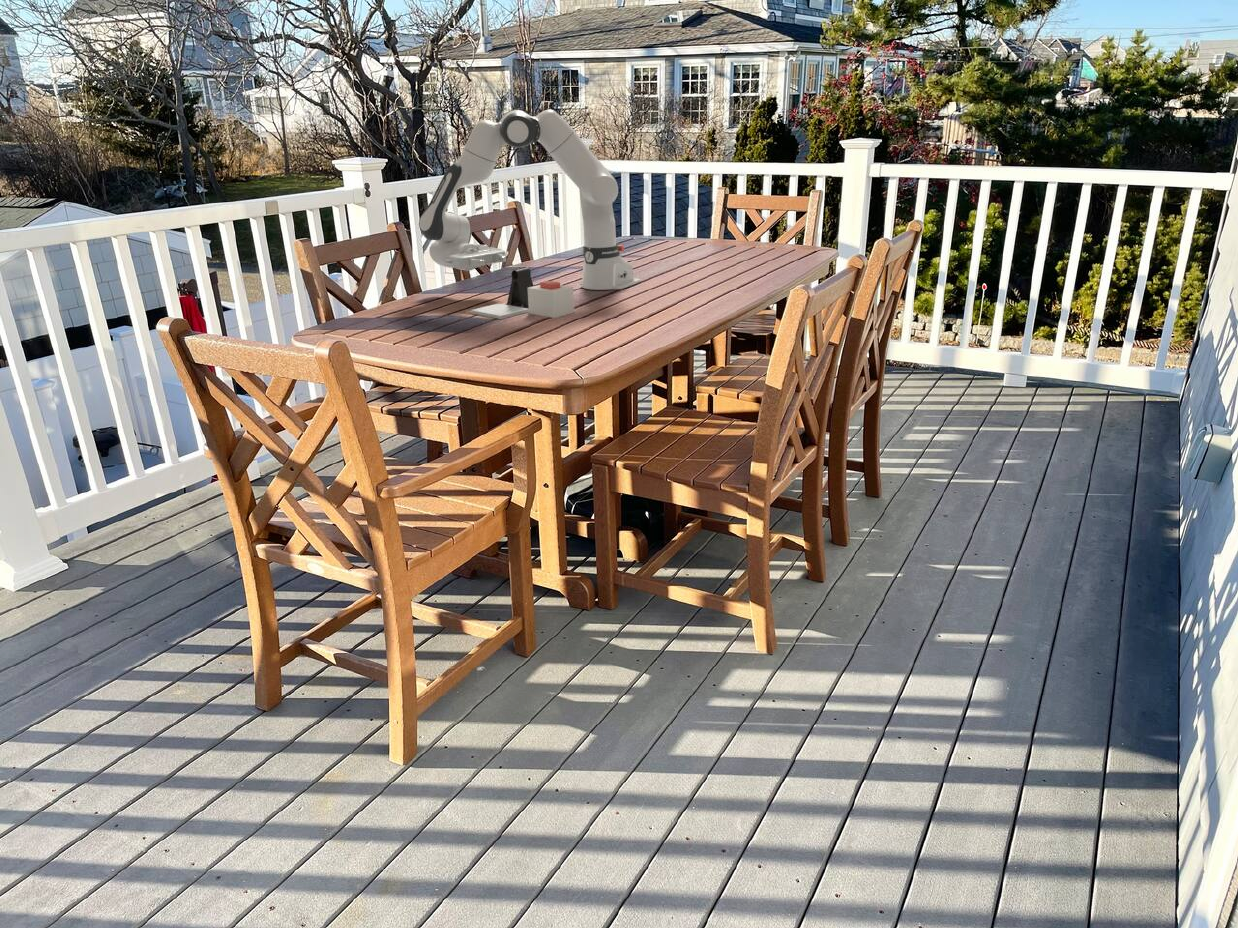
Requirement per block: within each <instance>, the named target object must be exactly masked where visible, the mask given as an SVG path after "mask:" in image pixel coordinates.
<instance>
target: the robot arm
mask: <svg viewBox="0 0 1238 928" xmlns="http://www.w3.org/2000/svg"><path fill="white" fill-rule="evenodd" d="M536 142H538V143H539V144H540V145H542V147H543V148H544V149H545V151H546V152H547V153H548V154H549V155H550V156H551V158H552V159H553V161H554V162H555V163H556V164H557V165H558V166H559V167H560V169H561V170H562V171H563V173H564V174H566V175H567V177H568V178H569V179H570V180H571V182H573V183H574V185H575V186H576V187H577V188H578V189H579V199H580V200H579V201H580V207H581V209H580V210H581V215H582V223H583V242H584V243H583V247H582V248H583V249H582V254H583V258H584V261H583V266H582V279H581V281H580V284H581V288H583V289H587V290H595V291H597V290H598V291H599V290H600V291H601V290H603V291H604V290H623V289H625V288H628V287H632V286H633V285H636V284H639V283H640V282H641V279H640V278H637V277H635V276H634V275H635V274H634V269H633V266H632V264H631V263H629V262H628V261H627V260H626V259H625V258H623V257H622V256H621V253H620V252H624V251H625V247H624V245H622V244H621V245H620V244H618V245H617V237H616V236H617V234H616V233H617V231H616V219H615V214H614V213H615V212H614V209H613V207H614V206H613V203H614V202H615V201H616V199H617V198H618V195H619V186H618V181H617V180H616V178H615V177H614V176H613V175H612V174H611V172H609V171H608V169H607V168H606V167H605V166H604V164H603V163H602V162H601V161H600V160H599V159H598V158H597V156H596V155H594V153H593V152H592V151H591V150H590V149H589V148H588V146H587V145H586V144H585V142H584V141H583V140H582V139H581V138H580V136H579V135H578V134H577V133H576V131H575V130H574V129H573V128H572V126H571V125H570V124H569V123H568V122H567V121H566V120H565V119H564V118H563V117H562V116H561V115H560V114H559V113H557V111H555V110H553V109H551V108H550V109H549V108H548V109H546V110H542V111H541V112H540V113H538V114H537V115H535V116H532V115H530V114H529V113H528V112H527V111H525V110H522V109H519V108H513V109H511V110H508V111H507V112H506V113H504V115H502V116H501V117H500V118H498V120H496V122H494V121H492V120H489V119H482V120H479V121H477V123H476V124H475V125H474V127H473V129H472V131H471V133H470V135H469V136H468V139H467V141H466V143H465V147H464V148H463V151H462V153H461V155H460V157H459V158H458V159H457V160H456V162H455V163H453V164H451V165H450V166H448V168H447V170H445V171H446V172H445V173H444V175H443V176H442V179H441V180H440V183H439V184H438V186H437V188H436V190H435V192H434V194H433V196H432V198H431V200H430V201H429V203H428V205H427V207H426V208H425V209H424V211H423V212H422V213H421V215H420V217H419V221H418V227H419V230H420V232H421V234H422V235H423V237H424V238H425V239H427V240H429V241H434V242H432V244H430V247H429V250H428V251H429V256H430V258H431V260H432V261H433V262H434V263H435V264H437V265H439V266H442V267H445V268H451V269H453V268H455V269H457V270H462V271H468V272H470V271H473V270H475V269H476V268H479V267H482V266H485V265H492V264H497V263H506V262H507V257H506V251H505V250H504V249H501V248H497V247H493V246H488V244H475V243H470V242H471V239H472V232H473V231H472V224H471V222H470V220H469V218H468V217H467V216H465V215H462V214H458V213H454V212H453V213H452V212H449V211H447V209H448V207H449V205H450V203H451V201H452V200H453V198H454V195H455V194H456V193H457V192H458V190H460V188H463V187H464V186H468V185H472V184H473V185H474V184H479V183H483V182H485V180H487V179H489V178H490V176H491V175H492V174H493V171H494V170H495V167H496V165H497V161H498V158H499V155H500V153H501V151H502V149H503V148H504V147H505V146H506V145H508V146H510V147H512V148H516V149H518V148H519V149H520V148H524V147H527V146H529V145H531V144H534V143H536Z"/></svg>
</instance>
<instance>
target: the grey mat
mask: <svg viewBox="0 0 1238 928" xmlns="http://www.w3.org/2000/svg"><path fill="white" fill-rule="evenodd" d="M525 313H526V314H527V313H529V309H528V308H522V307H517V306H511V305H507V303H506V304H504V303H500V302H498V303H494V304H491V305H486V306H481V307H478V308H474V309H473V308H472V309H470V314H473V315H478V316H482V317H487V318H494V319H498V320H503V319H507V318H511V317H514V316H518V315H522V314H523V315H524V314H525Z"/></svg>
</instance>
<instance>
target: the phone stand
mask: <svg viewBox="0 0 1238 928" xmlns="http://www.w3.org/2000/svg"><path fill="white" fill-rule="evenodd" d="M531 272H532V271H531V270H530V267H522V268H518V269H513V270H512V271H511V282H510V287H509V293H508V297H507V302H506V305H511V306H517V307H522V308H528V309H529V305H528V289H527V288H529V287H533V286H535V285H534V283H533V280H532V277H531Z"/></svg>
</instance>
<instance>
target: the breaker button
mask: <svg viewBox="0 0 1238 928" xmlns="http://www.w3.org/2000/svg"><path fill="white" fill-rule="evenodd" d="M539 285H540V288H545V289H551V290H553V289H557V288H560V285H561V282H560V281H559V282H558V281H552V280H546V281H541V282H540V284H539Z"/></svg>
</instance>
